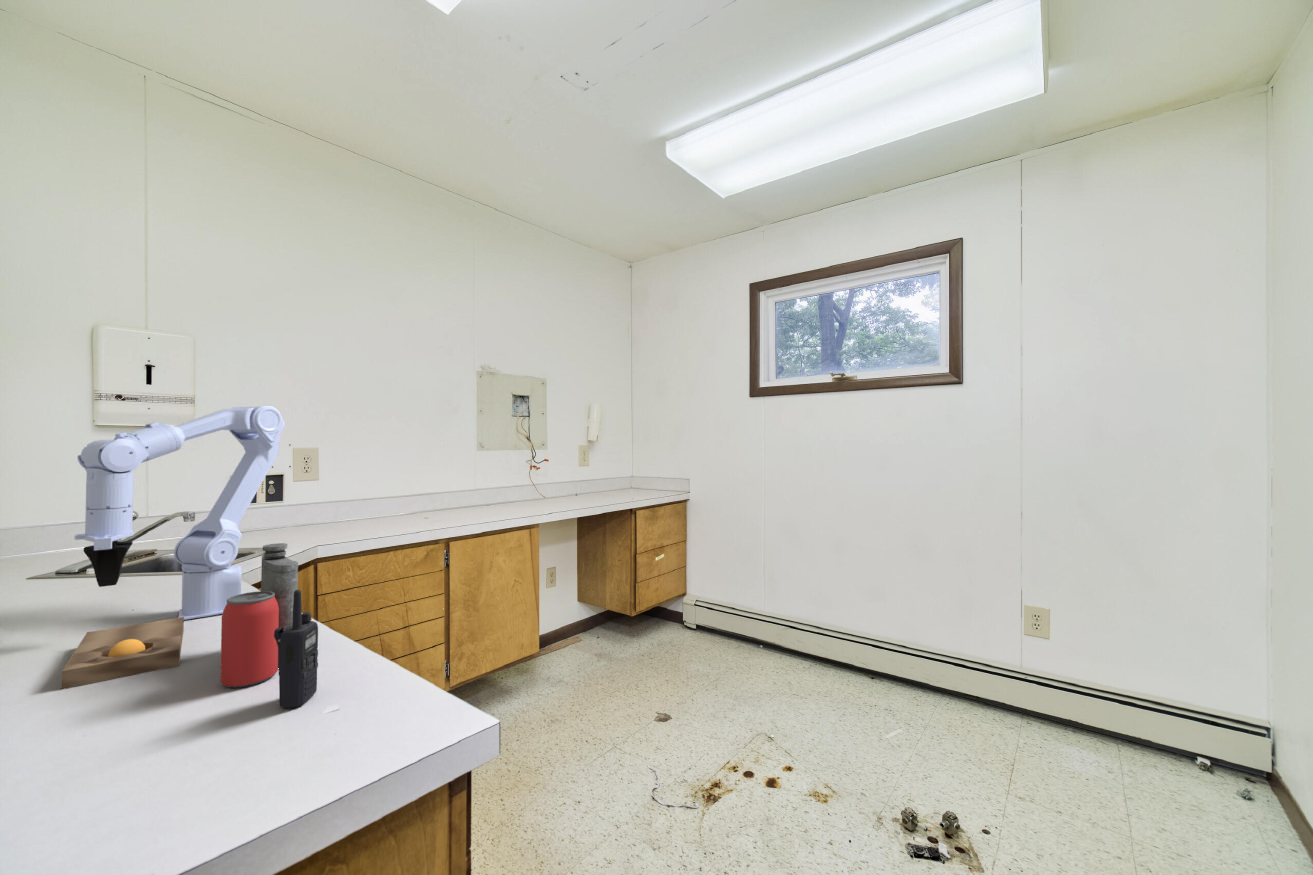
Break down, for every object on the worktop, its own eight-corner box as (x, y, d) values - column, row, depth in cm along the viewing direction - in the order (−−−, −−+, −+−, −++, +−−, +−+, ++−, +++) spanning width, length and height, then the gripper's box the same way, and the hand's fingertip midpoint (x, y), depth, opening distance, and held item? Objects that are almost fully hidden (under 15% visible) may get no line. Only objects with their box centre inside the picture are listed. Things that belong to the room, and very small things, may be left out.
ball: (143, 645, 79) (143, 668, 80) (147, 631, 82) (146, 654, 83) (106, 651, 76) (105, 675, 77) (111, 636, 79) (110, 660, 80)
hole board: (183, 630, 95) (183, 616, 95) (178, 665, 80) (179, 649, 80) (86, 646, 87) (87, 632, 87) (61, 689, 72) (61, 671, 72)
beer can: (287, 674, 77) (289, 593, 77) (236, 693, 71) (237, 605, 71) (261, 666, 79) (263, 588, 80) (210, 684, 73) (211, 599, 74)
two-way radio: (300, 710, 66) (302, 592, 66) (262, 712, 66) (264, 594, 66) (321, 690, 72) (323, 581, 72) (286, 692, 71) (288, 582, 71)
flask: (269, 672, 77) (271, 551, 78) (253, 646, 87) (255, 539, 88) (298, 665, 80) (300, 548, 80) (280, 640, 90) (281, 537, 90)
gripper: (83, 505, 94) (81, 580, 93) (67, 513, 83) (65, 598, 83) (138, 502, 98) (136, 574, 98) (129, 510, 87) (128, 590, 87)
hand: (108, 585), depth 91 cm, fingers closed
